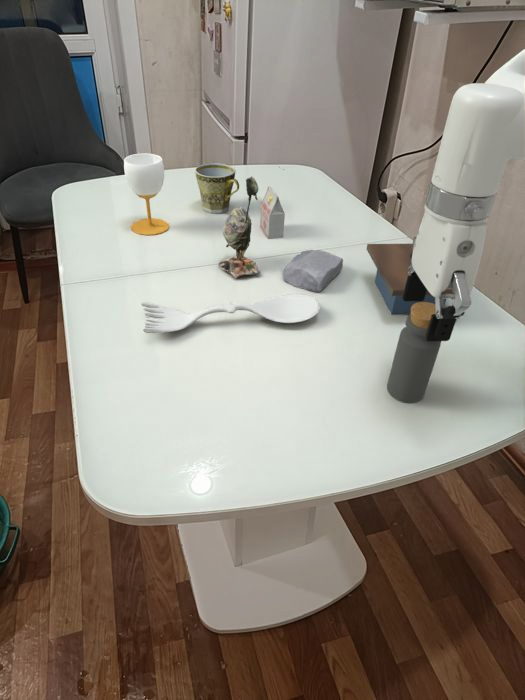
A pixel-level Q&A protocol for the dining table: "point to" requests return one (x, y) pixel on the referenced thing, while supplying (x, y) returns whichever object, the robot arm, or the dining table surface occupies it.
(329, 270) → the stone block
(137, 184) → the cup
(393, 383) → the bottle
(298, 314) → the spoon
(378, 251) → the board
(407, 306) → the box
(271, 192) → the milk carton
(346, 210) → the dining table surface
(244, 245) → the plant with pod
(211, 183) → the ceramic cup
